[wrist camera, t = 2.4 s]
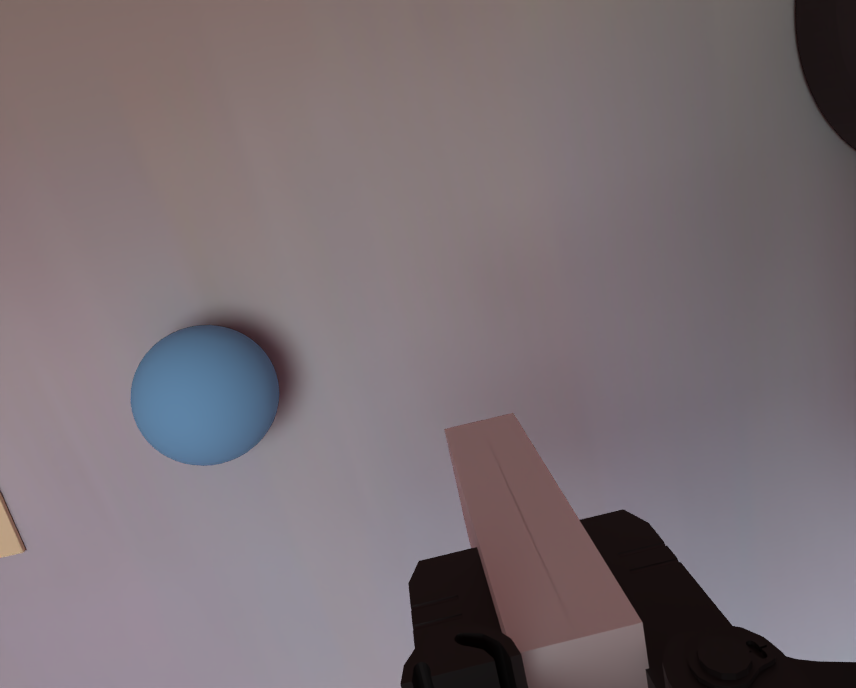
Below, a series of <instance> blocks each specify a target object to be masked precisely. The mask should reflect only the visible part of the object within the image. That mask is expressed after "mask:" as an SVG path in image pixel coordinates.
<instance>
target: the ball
mask: <svg viewBox="0 0 856 688" xmlns="http://www.w3.org/2000/svg"><path fill="white" fill-rule="evenodd" d="M278 403H279V384H278V379H277V375H276V372H275V369H274V366H273V364H272V363H271V361H270V359H269V357H268V356H267V355H266V353H265V352H264V351H263V350H262V349H261V347H260V346H259V345H258V344H256V343H255V342H254V341H253V340H252V339H250V338H249V337H247V336H245V335H244V334H242V333H240V332H238V331H235V330H233V329H230V328H226V327H222V326H215V325H199V326H192V327H187V328H184V329H181V330H178V331H176V332H174V333H172V334H170V335H168V336H166V337H165V338H163V339H161V340H160V341H159V342H158V343H156V344H155V345H154V346H153V347H152V348H151V349H150V350H149V351H148V352H147V354H146V355H145V356H144V358H143V359H142V361H141V362H140V364H139V366H138V368H137V370H136V372H135V375H134V378H133V382H132V388H131V407H132V412H133V416H134V419H135V421H136V424H137V426H138V428H139V430H140V432H141V433H142V435H143V436H144V438H145V439H146V440H147V441H148V442H149V443H150V444H151V445H152V446H153V447H154V448H155V449H156V450H158V451H159V452H160V453H162V454H163V455H165V456H167V457H169V458H171V459H173V460H175V461H178V462H182V463H185V464H191V465H202V466H204V465H216V464H221V463H224V462H228V461H231V460H233V459H235V458H238V457H240V456H241V455H243V454H245V453H246V452H248V451H249V450H250V449H252V448H253V447H254V446H255V445H257V444H258V442H259V441H260V440H261V439H262V438H263V437H264V436H265V434H266V433H267V431H268V430H269V428H270V426H271V425H272V423H273V421H274V418H275V415H276V412H277V408H278Z"/></svg>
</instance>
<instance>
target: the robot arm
mask: <svg viewBox="0 0 856 688" xmlns="http://www.w3.org/2000/svg"><path fill="white" fill-rule="evenodd" d="M796 26H797V37H798V45H799V51H800V56H801V60H802V65H803V69H804V72H805V75H806V78H807V81H808V84H809V86H810V89H811V91H812V94H813V96H814V98H815V100H816V102H817V104H818V106H819V107H820V109H821V111H822V112H823V114H824V116H825V117H826V118H827V120H828V121H829V123H830V124H831V125H832V127H833V128H834V129H835V130H836V131H837V132H838V134H839V135H840V136H841V137H842V138H843V139H844V140H845V141H846V142H847V143H849V144H850V145H851V146H852V147H853V148H855V149H856V0H797V1H796ZM445 434H446V438H447V443H448V447H449V452H450V456H451V461H452V465H453V470H454V474H455V479H456V483H457V488H458V492H459V497H460V501H461V506H462V510H463V515H464V519H465V524H466V528H467V533H468V537H469V541H470V545H471V549H467V550H463V551H459V552H455V553H450V554H446V555H442V556H438V557H434V558H430V559H426V560H422V561H419V562H418V564H417V566H416V568H415V571H414V573H413V575H412V577H411V579H410V581H409V593H410V603H411V610H412V611H411V613H412V624H413V634H414V644H415V649H414V651H413V653H412V654H411V656H410V657H409V659H408V660H407V662H406V663H405V665H404V668H403V674H402V679H401V687H402V688H856V662H818V661H808V660H798V659H794V658H790V657H786V656H785V655H784V654H783V653H782V652H781V651H780V650H779V649H778V648H776V647H775V646H774V645H773V644H772V643H770V642H769V641H768V640H767V639H765V638H764V637H762V636H760V635H758V634H755V633H753V632H751V631H748V630H746V629H744V628H742V627H735V626H732V625H731V624H730V622H729V621H728V620H727V619H726V617H725V616H724V615H723V614H722V613H721V611H720V610H719V609H718V608H717V606H716V605H715V604H714V603H713V601H712V600H711V599H710V598H709V597H708V595H707V594H706V593H705V592H704V590H703V589H702V588H701V587H700V586H699V584H698V583H697V582H696V581H695V579H694V578H693V577H692V576H691V574H690V573H689V572H688V571H687V570H686V568H685V567H684V566H683V565H682V563H681V562H678V560H677V557H676V556H675V555H674V554H673V552H672V551H671V550H670V549H669V547H668V546H665V544H664V541H663V540H662V539H661V538H660V536H659V535H658V534H657V533H656V532H655V530H654V529H653V528H652V527H651V525H650V524H649V523H648V522H646V521H644V520H642V519H640V518H638V517H637V516H635V515H633V514H631V513H629V512H627V511H625V510H619V511H615V512H611V513H607V514H602V515H598V516H594V517H590V518H586V519H582V520H579V519H578V517H577V516H576V514H575V512H574V511H573V509H572V507H571V506H570V504H569V503H568V501H567V499H566V498H565V496H564V495H563V493H562V491H561V490H560V488H559V486H558V485H557V483H556V482H555V480H554V478H553V477H552V475H551V473H550V472H549V470H548V469H547V467H546V465H545V464H544V462H543V461H542V459H541V457H540V456H539V454H538V452H537V451H536V449H535V448H534V446H533V444H532V443H531V441H530V439H529V438H528V436H527V435H526V433H525V431H524V430H523V428H522V427H521V425H520V423H519V422H518V420H517V418H516V417H515V415H514V414H513V413H511V414H507V415H503V416H498V417H494V418H490V419H486V420H481V421H477V422H473V423H468V424H464V425H460V426H456V427H451V428H447V429H445Z"/></svg>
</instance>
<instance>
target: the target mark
mask: <svg viewBox="0 0 856 688" xmlns="http://www.w3.org/2000/svg"><path fill="white" fill-rule="evenodd" d="M25 550H26V549H25V547H24V545H23V543H22V540H21V538H20V536H19V533H18V531H17V529H16V527H15V524H14V522H13V520H12V518H11V515H10V513H9V511H8V508H7V506H6V504H5V502H4V499H3V497H2V495H1V492H0V558H2V557H6V556H10V555H15V554H19V553H23V552H24V551H25Z"/></svg>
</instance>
